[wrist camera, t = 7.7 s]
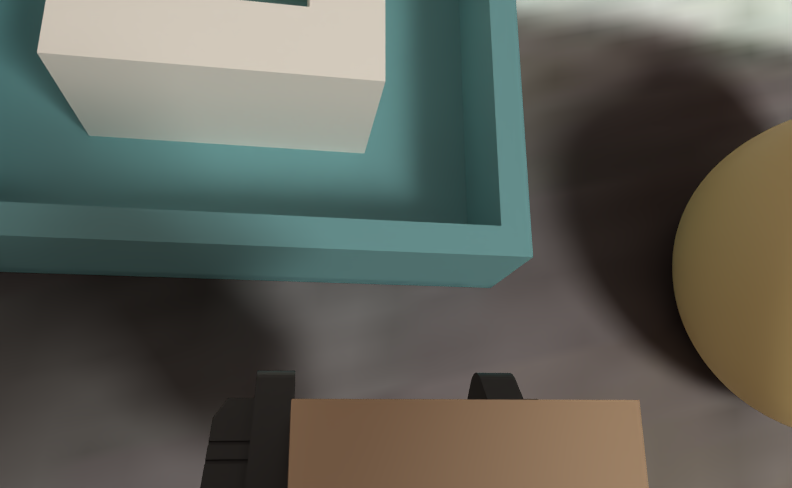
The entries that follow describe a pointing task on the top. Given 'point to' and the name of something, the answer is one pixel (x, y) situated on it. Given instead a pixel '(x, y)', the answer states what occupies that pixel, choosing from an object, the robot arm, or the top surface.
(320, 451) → the peg
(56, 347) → the top surface
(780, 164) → the sculpture
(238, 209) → the socket box
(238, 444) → the robot arm
